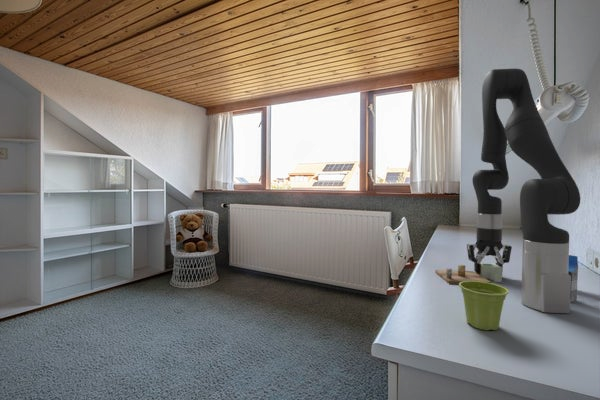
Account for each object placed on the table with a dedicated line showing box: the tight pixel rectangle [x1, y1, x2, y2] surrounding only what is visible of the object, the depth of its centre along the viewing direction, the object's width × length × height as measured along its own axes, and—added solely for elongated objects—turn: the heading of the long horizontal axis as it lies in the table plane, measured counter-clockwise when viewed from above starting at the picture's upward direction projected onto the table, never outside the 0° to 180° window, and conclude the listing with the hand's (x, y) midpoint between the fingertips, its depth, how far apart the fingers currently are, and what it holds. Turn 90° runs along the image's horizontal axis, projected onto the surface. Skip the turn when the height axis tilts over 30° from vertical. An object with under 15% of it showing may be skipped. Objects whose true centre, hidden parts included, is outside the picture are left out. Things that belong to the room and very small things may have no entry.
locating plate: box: [435, 264, 493, 285], centre depth 101 cm, size 13×13×4 cm
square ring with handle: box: [474, 262, 503, 283], centre depth 102 cm, size 10×6×4 cm, turn 173°
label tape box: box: [568, 254, 579, 303], centre depth 83 cm, size 9×4×12 cm, turn 27°
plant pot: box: [458, 281, 510, 331], centre depth 66 cm, size 9×9×9 cm
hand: (488, 273), depth 103 cm, fingers closed on square ring with handle, 6 cm apart
